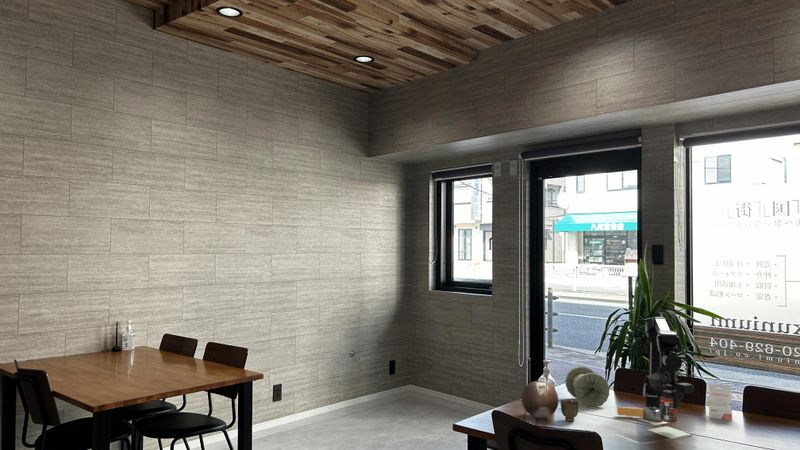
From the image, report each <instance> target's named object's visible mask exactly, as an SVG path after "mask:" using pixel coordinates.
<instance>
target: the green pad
mask: <svg viewBox="0 0 800 450" xmlns="http://www.w3.org/2000/svg"><path fill="white" fill-rule="evenodd" d="M646 430H647V431H648V432H652V433H655V434H658V435H661V436H664V437H666V438H667V439H668V440H676V439H681V438H686V437H687V436H688V437H692V433H688V432H686V431H684V430H683V431H682V430H679V429H677V428H673V427H671V426H666V425H665V426H661V427H654V428H648V429H646ZM688 437H687V438H688Z"/></svg>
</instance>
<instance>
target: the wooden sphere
mask: <svg viewBox="0 0 800 450" xmlns="http://www.w3.org/2000/svg"><path fill="white" fill-rule="evenodd" d="M521 393H522V394H521V403H522V406H523V409H524V410H525V411H526V412H527V413H528V414H529V415H530V416H532V417H534V418H537V419H545V418H548V417H551V416H552V415H553V414H555V412H556V410H557V409H558V408H559V407H558V406H559V402H560V401H559V395H558V392H557V390H556V389H555V388H554V386H553V385H551V384H550V383H548V382H546V381H544V380H543V381H542V380H535V381H532V382H530V383H528V384H527V385H526V386H525V387H524V388H523V391H522V392H521Z"/></svg>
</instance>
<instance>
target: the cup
mask: <svg viewBox="0 0 800 450" xmlns="http://www.w3.org/2000/svg"><path fill="white" fill-rule="evenodd" d="M559 403H560V408H561V409H560V410H561V414H562V415H563V417H564V419H565V421H566V422H569V423H573V422H574V421H575V418H576V417H577V416H578V414H579V408H580V403H579V401H578V400H574V399H573V400H571V399H561V400H560V401H559Z"/></svg>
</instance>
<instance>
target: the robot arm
mask: <svg viewBox="0 0 800 450" xmlns="http://www.w3.org/2000/svg"><path fill="white" fill-rule="evenodd" d="M644 332H645V334H646V337H647V338H648V340H649V341H650V345H649V347H650V348H649V350H650V351H649V355H650V356H649V375H645V376H644V378H643V383H644V385H643V390H642V395H643V398H644V399H646V401H645V407H657V408H660V397H661V396H662V395H663V391H664V390H668V387H669V388H673V389H674V390H670V391H671V392H672V394H673V399H674V409H677V410H678V407H679V405H680V403H681V402H682V399H683V398H684V397H685V395H686V394H689V393H690V394H691V393H695V387H694V385H693V384H692V383H687V382H680V380H679V379H678V378H677V372H680V369H681V367H682V366H683V361H682V360H681V357H679V356H678V353H679V354H680V353H681V354H682V351H683V347H682V342H681V339H680V337H679V336H678V335H677V332H675V331H673V330H671V329H670V327H669V324H668V321H667V318H666V317H664V316H654V317H652V318H651V319H650V320H647V321H646V323H645V326H644Z"/></svg>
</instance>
